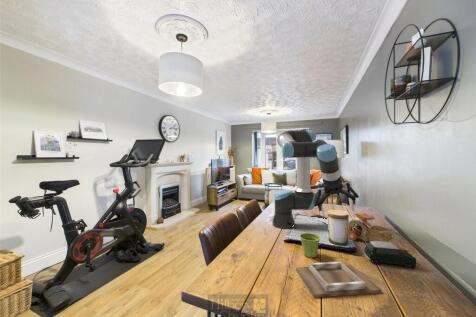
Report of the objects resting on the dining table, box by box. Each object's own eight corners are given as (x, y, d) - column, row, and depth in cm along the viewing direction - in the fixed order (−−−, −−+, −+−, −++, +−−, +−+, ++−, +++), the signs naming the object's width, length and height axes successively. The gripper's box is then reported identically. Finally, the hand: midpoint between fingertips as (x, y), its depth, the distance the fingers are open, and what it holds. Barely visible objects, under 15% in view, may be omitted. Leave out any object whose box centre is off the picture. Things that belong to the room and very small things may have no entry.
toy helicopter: (351, 234, 117) (350, 211, 117) (394, 246, 101) (394, 219, 101) (345, 238, 112) (344, 214, 112) (390, 251, 96) (389, 223, 95)
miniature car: (419, 270, 80) (419, 251, 80) (368, 264, 85) (368, 245, 85) (407, 259, 88) (407, 241, 88) (362, 254, 94) (361, 237, 93)
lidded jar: (375, 231, 121) (375, 216, 121) (355, 228, 127) (354, 213, 127) (374, 226, 130) (374, 212, 130) (355, 223, 136) (355, 210, 136)
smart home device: (319, 214, 154) (338, 222, 135) (319, 216, 154) (338, 225, 135) (310, 215, 152) (328, 223, 133) (310, 217, 152) (328, 226, 133)
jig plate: (313, 297, 65) (313, 288, 65) (295, 270, 81) (295, 262, 81) (381, 292, 67) (381, 283, 67) (350, 266, 83) (350, 259, 83)
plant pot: (298, 257, 91) (298, 239, 91) (300, 248, 100) (300, 231, 100) (320, 261, 87) (320, 242, 87) (320, 251, 96) (320, 234, 96)
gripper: (305, 188, 88) (313, 222, 97) (364, 174, 83) (368, 211, 91) (301, 179, 95) (310, 211, 104) (356, 165, 90) (360, 201, 98)
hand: (337, 211), depth 97 cm, fingers open, 13 cm apart
